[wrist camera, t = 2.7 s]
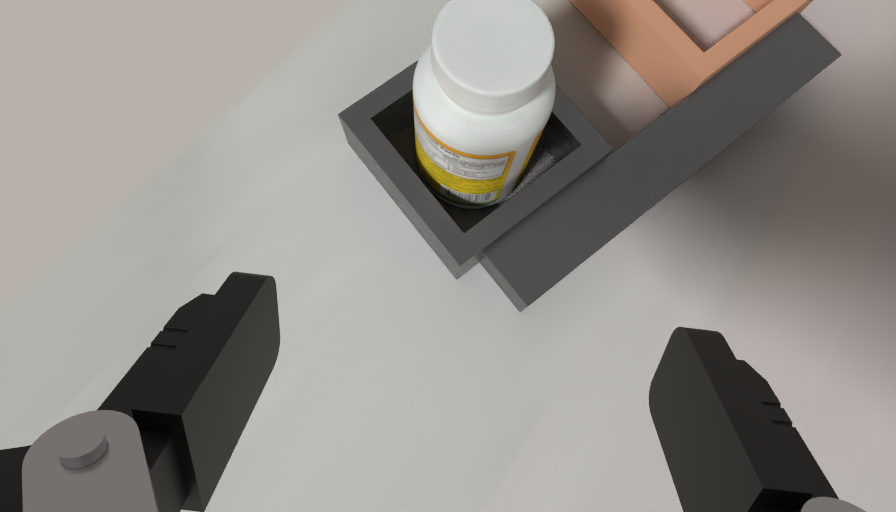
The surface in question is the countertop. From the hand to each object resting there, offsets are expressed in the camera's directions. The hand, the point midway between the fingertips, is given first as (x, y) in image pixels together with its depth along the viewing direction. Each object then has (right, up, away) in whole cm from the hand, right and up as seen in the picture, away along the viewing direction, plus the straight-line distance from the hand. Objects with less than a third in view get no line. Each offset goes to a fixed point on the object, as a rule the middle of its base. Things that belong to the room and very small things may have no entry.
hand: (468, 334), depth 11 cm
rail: (+7, +9, +16) cm, 20 cm away
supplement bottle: (+1, +6, +16) cm, 17 cm away
